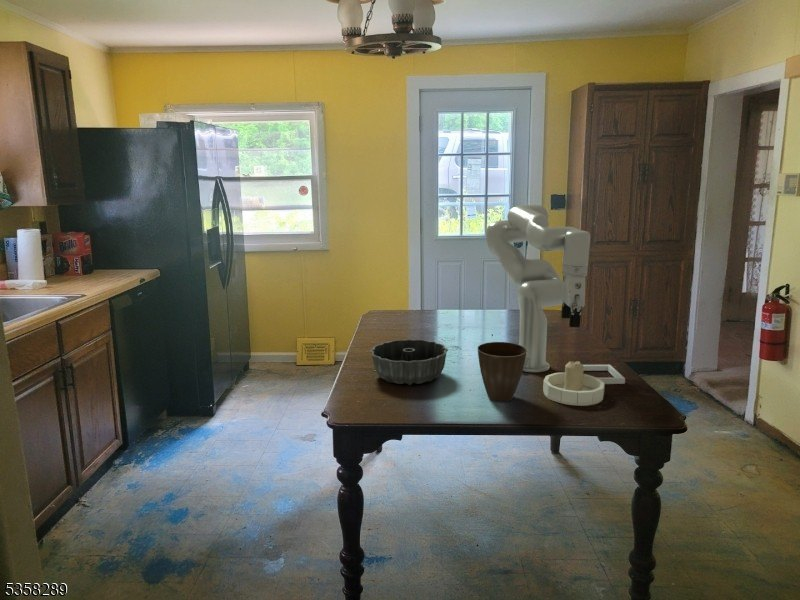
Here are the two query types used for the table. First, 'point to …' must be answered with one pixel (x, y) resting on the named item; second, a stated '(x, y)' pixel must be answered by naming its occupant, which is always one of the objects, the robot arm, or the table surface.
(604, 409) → the table surface
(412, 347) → the bundt pan
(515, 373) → the plant pot
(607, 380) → the white square frame
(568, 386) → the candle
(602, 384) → the bowl
